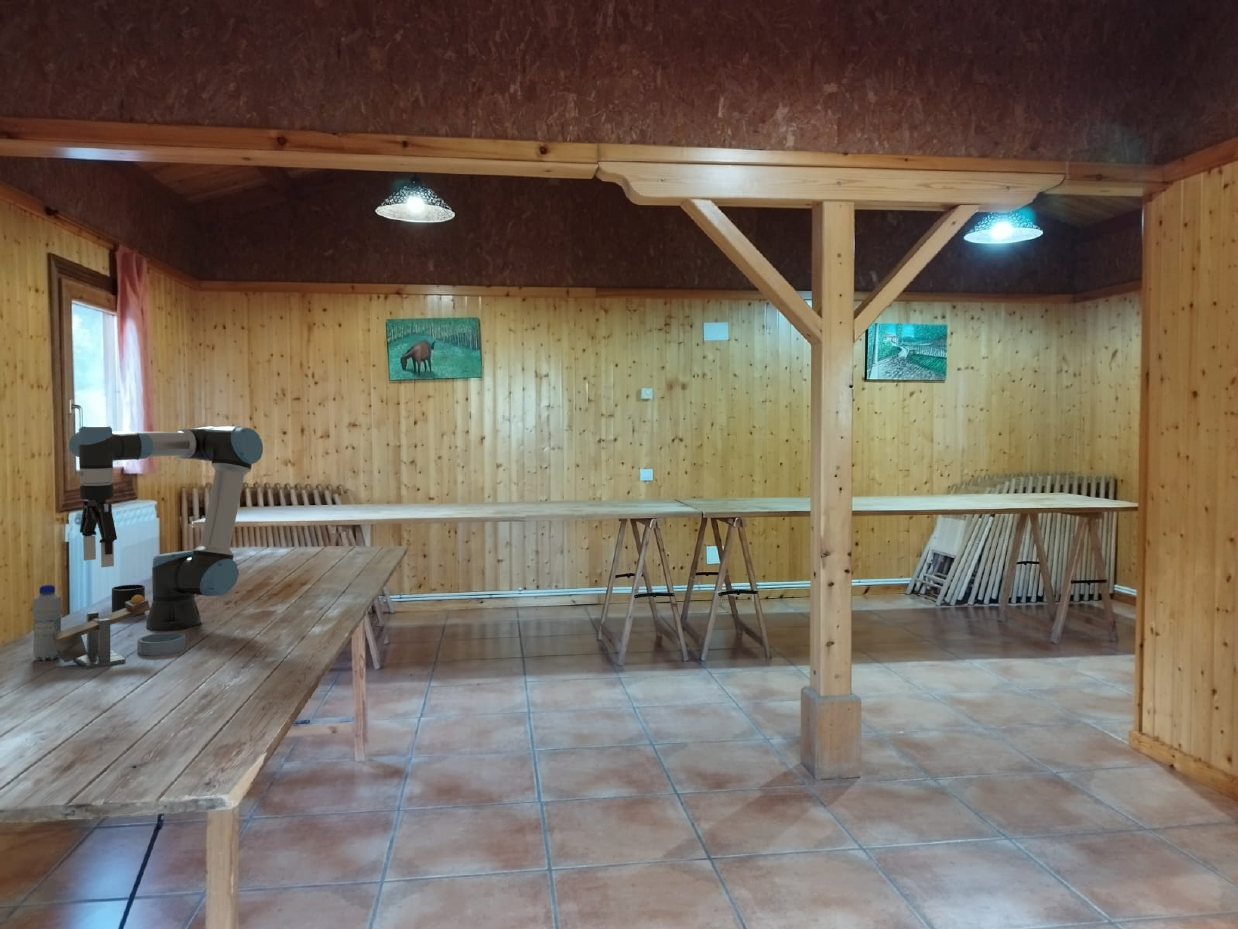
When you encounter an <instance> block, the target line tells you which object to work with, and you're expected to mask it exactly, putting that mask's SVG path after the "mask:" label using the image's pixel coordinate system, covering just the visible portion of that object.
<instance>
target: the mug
mask: <svg viewBox="0 0 1238 929" xmlns="http://www.w3.org/2000/svg"><path fill="white" fill-rule="evenodd" d="M145 593H146V586H145V585H143V584H142V585H141V584H124V585H118V586H117V585H116V586H114V587H112V588H111V613H113V612H116V611H118V610H121V609H124V608H126V605H125V602H127V601H130V600H131V599H132V597H134V596H135V595H141V596H143V597H144V601H145V600H146V594H145ZM144 614H145V612H143V613H141V614H138V615H135V616H134V617H136V616H137V617H138V616H141V615H144Z"/></svg>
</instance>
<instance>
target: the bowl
mask: <svg viewBox="0 0 1238 929" xmlns="http://www.w3.org/2000/svg"><path fill="white" fill-rule="evenodd" d="M136 644H137V653H138V654H139V655H141V656H142V655H143V656H163V655H164V656H165V655H170V654H175V653H178V652H181V651H184V649H185V648H186V634H184V633H181V632H174V631H170V632H158V633H152V634H150V633H149V634H146V635H144V636H140V637H139V638H138V639H137V643H136Z"/></svg>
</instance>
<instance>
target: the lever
mask: <svg viewBox="0 0 1238 929" xmlns="http://www.w3.org/2000/svg"><path fill="white" fill-rule="evenodd" d="M125 605H126V608H124V609H121V610H118V611H116V612H113V613H112V612H110V613H108V614H105V615H102V616H99V618H92V619H91V621H88V622H87V621H85V622H83V623H80V624H78V625H74V626H72V627H69V628H66V629H63V630H61V632H58V633H55V634H52V637H53V640H54V643H55V646H56V649H57V651H58V654H59V657H58V658H59V659H60V660H62V661H63V662H64V663H68V662H70V661H71V662H72V661H75V660H74V659H76V658H79V657H81V656H84V655H86V654H87V647H86V646H85V645H86V644H85V643H84V640H83V637H82V636H83V635H87V633H90V632H92V631H95V630H98V620H99V619H107V618H109V619H110V626H111V625H114V624H116V623H120V622H122V621H125V620H126V619H129V618H132V617H136V616H135V615H138V614H141V613H143V612H144V613H145V612H148V611H150V610H151V609H150V608H151V605H150V604H149V600H148V599H145V601H142V602H140V603H137V604H132V603H131V600H130V601H127V602H125ZM144 613H143V614H144ZM141 615H142V614H141ZM138 616H139V615H138Z"/></svg>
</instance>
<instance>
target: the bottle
mask: <svg viewBox="0 0 1238 929" xmlns="http://www.w3.org/2000/svg"><path fill="white" fill-rule="evenodd" d="M55 592H56V587H55V586H54V585H53V584H45V585H41V586H40V587H39V595H38V596H36V597H34V598H33V602H32V603H33V604H32V609H31V611H32V616H33V646H32V647H33V649H32V650H33V656H34V658H35V660H36V661H42V662H43V661H44V662H45V661H47V658H48V657H49V659H50V661H52V660H54V659H58V658H60V657H59V654H58V651H57V649H56V646H55V643H54V640H53V637H52V634H55V633H58V632H61V631H62V613H63V601H62V596H61V595H58V594H57V593H55Z"/></svg>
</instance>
